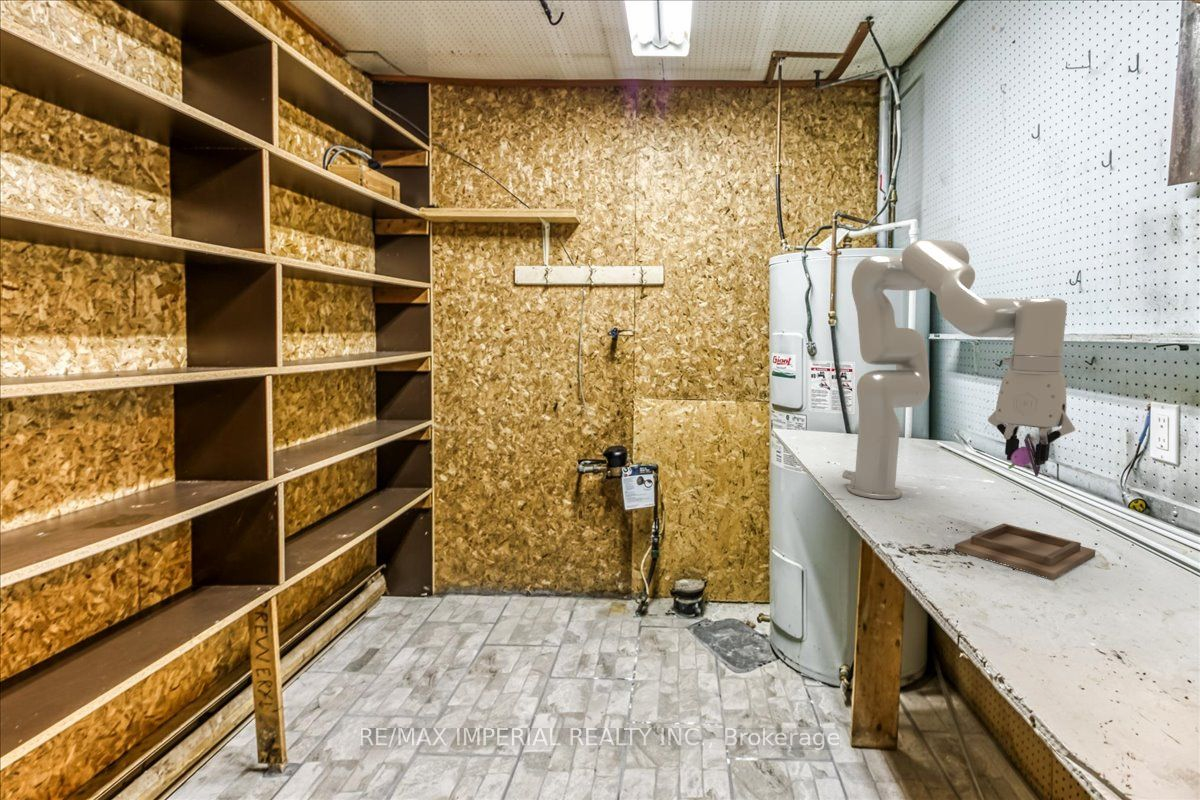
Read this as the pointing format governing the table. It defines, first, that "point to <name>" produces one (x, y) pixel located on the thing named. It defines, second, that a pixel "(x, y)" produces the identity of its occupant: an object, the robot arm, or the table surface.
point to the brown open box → (1026, 550)
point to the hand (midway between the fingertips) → (1025, 460)
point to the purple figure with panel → (1026, 455)
